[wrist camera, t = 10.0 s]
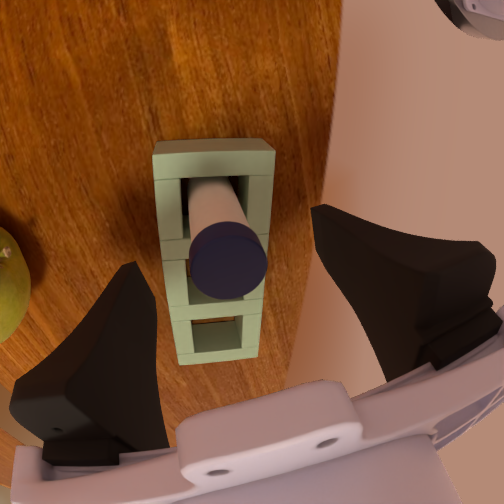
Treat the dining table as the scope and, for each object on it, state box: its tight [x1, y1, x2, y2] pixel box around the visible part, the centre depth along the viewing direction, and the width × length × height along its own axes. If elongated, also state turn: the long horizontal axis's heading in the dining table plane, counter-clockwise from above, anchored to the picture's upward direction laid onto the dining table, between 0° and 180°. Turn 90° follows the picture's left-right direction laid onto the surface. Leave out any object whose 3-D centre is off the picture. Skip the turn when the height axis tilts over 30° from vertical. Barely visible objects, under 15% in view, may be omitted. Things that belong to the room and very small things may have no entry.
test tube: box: [187, 176, 268, 300], centre depth 15 cm, size 3×3×8 cm
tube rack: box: [152, 138, 276, 365], centre depth 20 cm, size 15×6×3 cm, turn 177°
